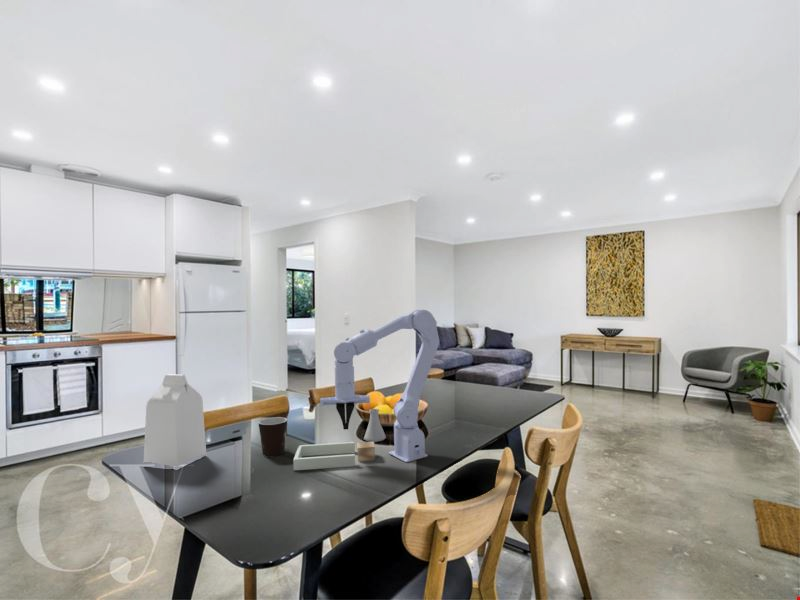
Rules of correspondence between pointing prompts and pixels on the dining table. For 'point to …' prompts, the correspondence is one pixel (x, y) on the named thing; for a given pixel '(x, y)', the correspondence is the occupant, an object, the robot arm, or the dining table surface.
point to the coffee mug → (273, 435)
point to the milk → (174, 423)
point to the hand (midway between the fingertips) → (345, 428)
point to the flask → (374, 428)
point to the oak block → (366, 451)
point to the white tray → (324, 460)
